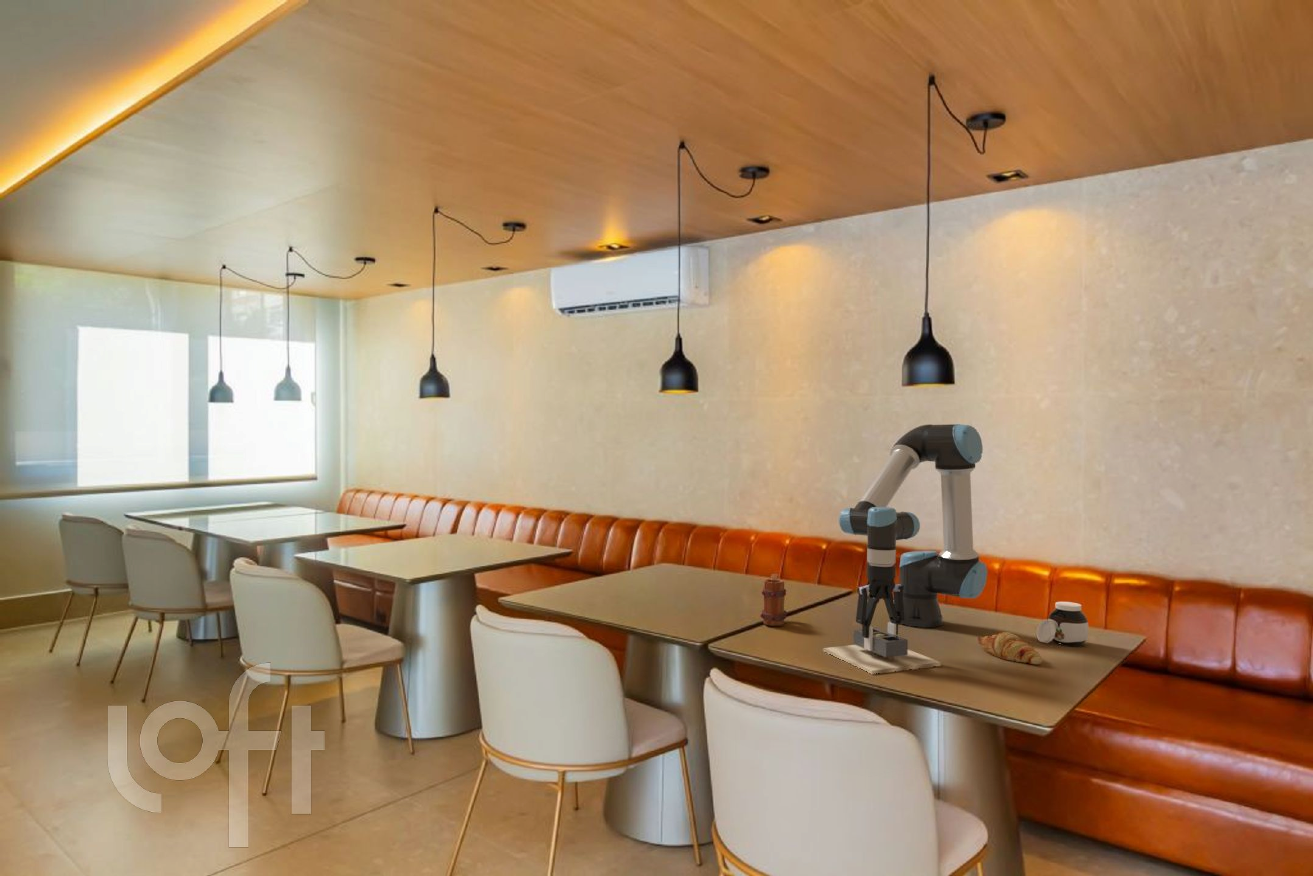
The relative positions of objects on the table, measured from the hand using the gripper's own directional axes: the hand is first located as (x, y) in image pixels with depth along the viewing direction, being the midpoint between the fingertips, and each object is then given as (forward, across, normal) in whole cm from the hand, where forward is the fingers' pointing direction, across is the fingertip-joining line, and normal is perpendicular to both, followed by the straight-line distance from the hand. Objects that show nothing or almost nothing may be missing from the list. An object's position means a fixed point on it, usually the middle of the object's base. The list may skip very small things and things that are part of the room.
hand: (880, 648), depth 214 cm
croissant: (+3, -35, +10) cm, 37 cm away
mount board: (+3, 0, 0) cm, 3 cm away
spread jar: (+3, -61, +5) cm, 61 cm away
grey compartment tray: (0, 0, 0) cm, 0 cm away
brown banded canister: (+3, +7, -45) cm, 46 cm away
